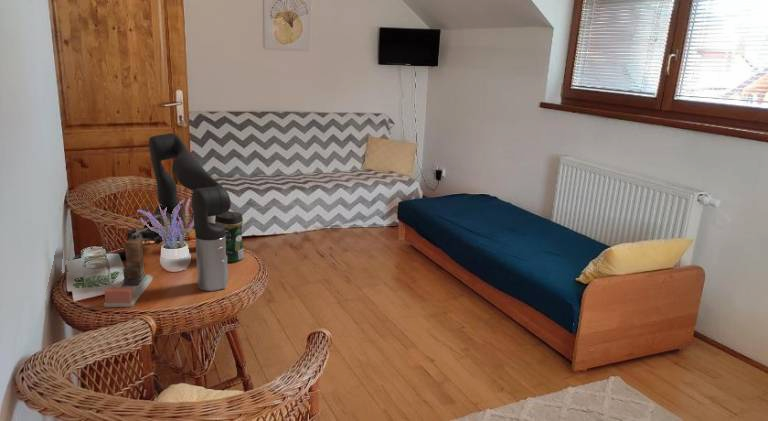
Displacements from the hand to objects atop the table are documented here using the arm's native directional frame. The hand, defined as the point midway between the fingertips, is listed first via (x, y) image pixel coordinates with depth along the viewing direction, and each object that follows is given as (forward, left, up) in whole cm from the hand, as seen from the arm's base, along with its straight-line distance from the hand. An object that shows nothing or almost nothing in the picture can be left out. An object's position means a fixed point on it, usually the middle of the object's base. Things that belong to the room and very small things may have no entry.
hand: (144, 241), depth 189 cm
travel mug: (-18, -23, -11) cm, 31 cm away
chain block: (0, +12, -9) cm, 15 cm away
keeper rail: (0, +18, -11) cm, 21 cm away
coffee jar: (-27, -12, -11) cm, 31 cm away
